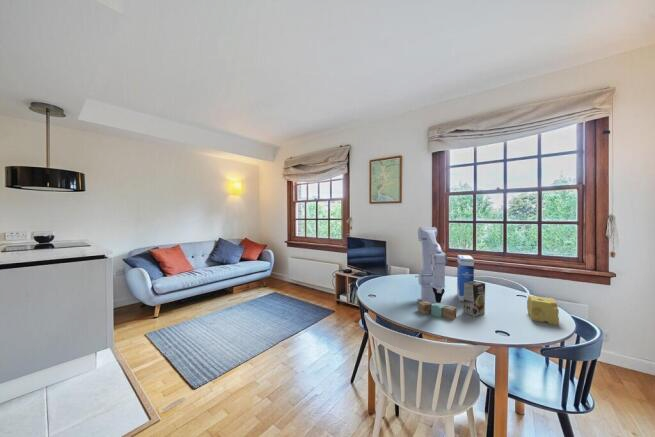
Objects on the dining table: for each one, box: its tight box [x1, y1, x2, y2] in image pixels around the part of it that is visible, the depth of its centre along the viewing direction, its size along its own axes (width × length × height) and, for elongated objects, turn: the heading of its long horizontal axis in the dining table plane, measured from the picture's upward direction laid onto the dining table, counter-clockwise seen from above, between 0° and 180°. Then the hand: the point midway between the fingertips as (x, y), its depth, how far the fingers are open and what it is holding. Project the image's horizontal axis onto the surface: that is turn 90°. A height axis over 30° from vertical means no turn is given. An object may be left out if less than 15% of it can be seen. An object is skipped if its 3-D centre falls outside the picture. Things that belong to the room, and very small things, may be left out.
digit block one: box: [417, 300, 433, 315], centre depth 131 cm, size 5×5×5 cm
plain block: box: [430, 302, 446, 318], centre depth 127 cm, size 5×5×5 cm
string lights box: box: [456, 254, 475, 302], centre depth 151 cm, size 13×8×26 cm, turn 158°
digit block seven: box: [442, 304, 457, 321], centre depth 125 cm, size 5×5×5 cm
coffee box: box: [462, 280, 486, 317], centre depth 129 cm, size 9×6×16 cm
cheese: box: [526, 294, 560, 326], centre depth 123 cm, size 10×11×10 cm
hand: (438, 302), depth 127 cm, fingers closed
